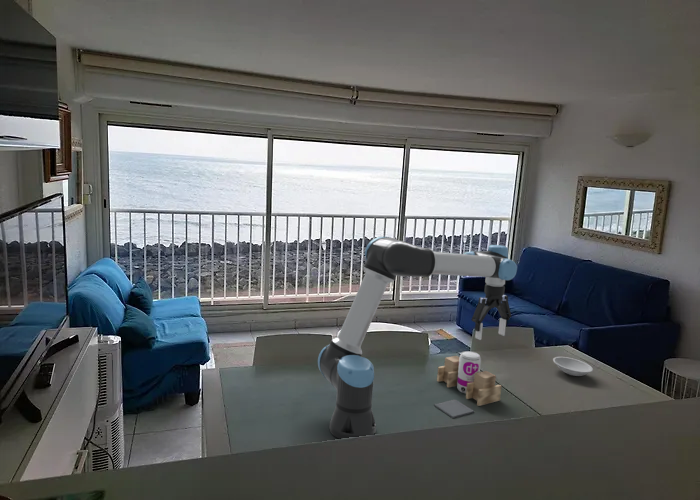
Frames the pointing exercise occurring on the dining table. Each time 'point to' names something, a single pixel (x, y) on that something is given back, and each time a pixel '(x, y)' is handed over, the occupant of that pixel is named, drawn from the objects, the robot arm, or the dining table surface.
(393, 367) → the dining table surface
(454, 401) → the mat
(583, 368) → the dish
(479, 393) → the rack
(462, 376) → the supplement can
